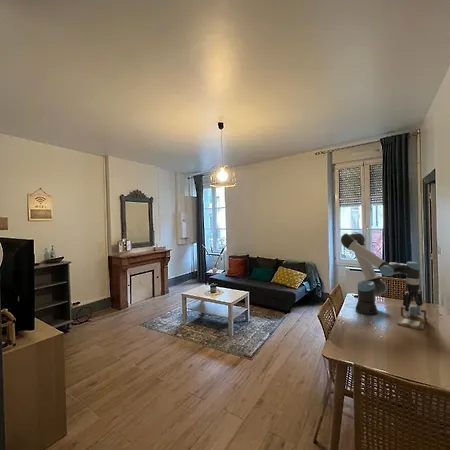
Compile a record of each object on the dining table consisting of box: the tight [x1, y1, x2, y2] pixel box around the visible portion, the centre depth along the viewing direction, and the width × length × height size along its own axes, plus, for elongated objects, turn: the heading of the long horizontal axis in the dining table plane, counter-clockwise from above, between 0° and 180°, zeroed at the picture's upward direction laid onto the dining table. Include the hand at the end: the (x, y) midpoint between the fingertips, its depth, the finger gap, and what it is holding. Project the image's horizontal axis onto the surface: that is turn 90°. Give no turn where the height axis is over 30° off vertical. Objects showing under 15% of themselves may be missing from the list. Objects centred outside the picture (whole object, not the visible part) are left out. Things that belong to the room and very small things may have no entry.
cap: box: [404, 303, 422, 316], centre depth 181 cm, size 11×8×6 cm
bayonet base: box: [397, 305, 427, 331], centre depth 176 cm, size 14×26×7 cm, turn 138°
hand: (412, 314), depth 181 cm, fingers closed on cap, 8 cm apart
